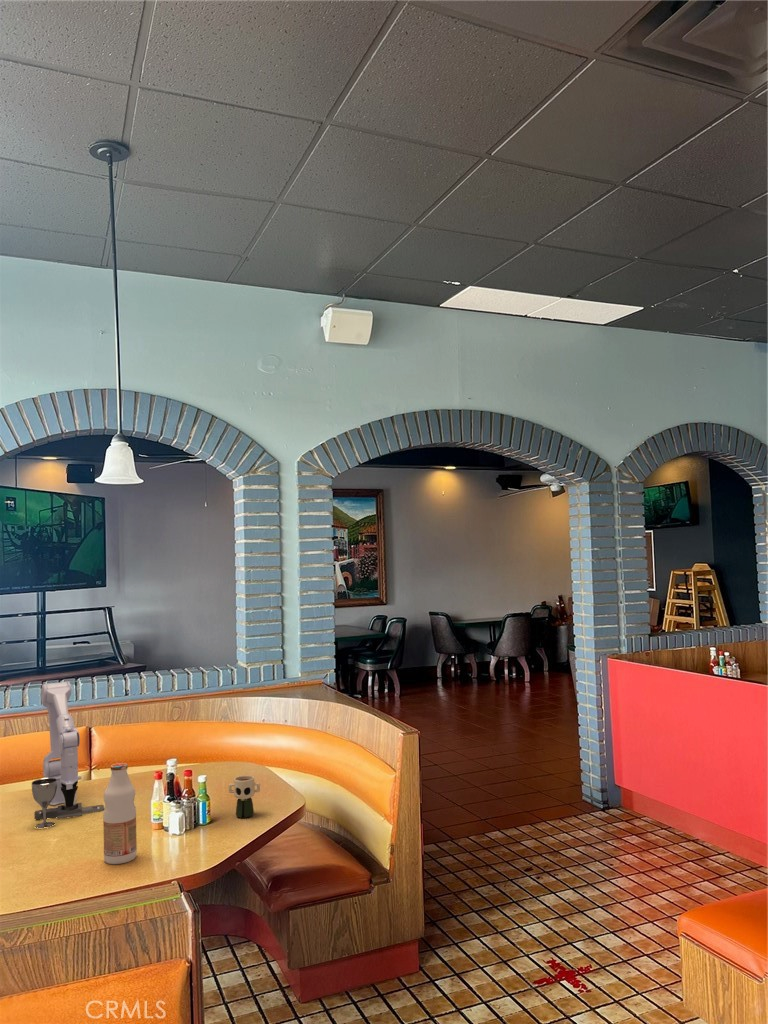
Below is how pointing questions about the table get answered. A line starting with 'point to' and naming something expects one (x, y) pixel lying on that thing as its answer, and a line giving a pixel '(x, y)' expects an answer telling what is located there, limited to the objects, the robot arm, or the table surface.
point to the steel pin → (72, 806)
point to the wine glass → (44, 796)
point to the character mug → (244, 794)
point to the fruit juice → (119, 817)
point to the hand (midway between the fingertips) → (69, 804)
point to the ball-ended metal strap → (67, 811)
